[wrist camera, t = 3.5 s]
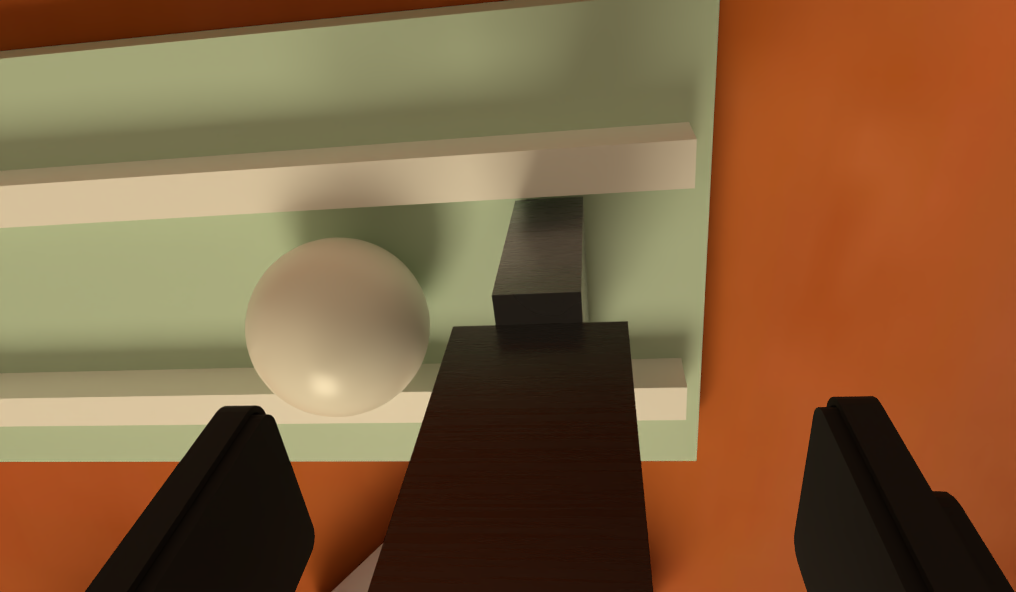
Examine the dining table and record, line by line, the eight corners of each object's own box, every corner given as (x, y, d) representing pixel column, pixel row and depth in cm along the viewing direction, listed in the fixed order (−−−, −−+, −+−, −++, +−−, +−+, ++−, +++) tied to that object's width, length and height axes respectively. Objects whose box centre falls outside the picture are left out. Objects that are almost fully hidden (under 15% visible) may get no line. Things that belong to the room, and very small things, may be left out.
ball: (431, 204, 15) (386, 289, 12) (455, 347, 17) (422, 456, 14) (268, 213, 16) (181, 298, 13) (310, 351, 18) (244, 456, 15)
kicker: (617, 194, 15) (656, 583, 6) (621, 353, 17) (653, 805, 8) (482, 202, 15) (347, 575, 7) (501, 355, 17) (418, 788, 9)
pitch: (707, -20, 14) (732, -5, 12) (689, 424, 20) (702, 493, 17) (-201, 71, 17) (-326, 97, 15) (17, 430, 23) (-48, 489, 21)
